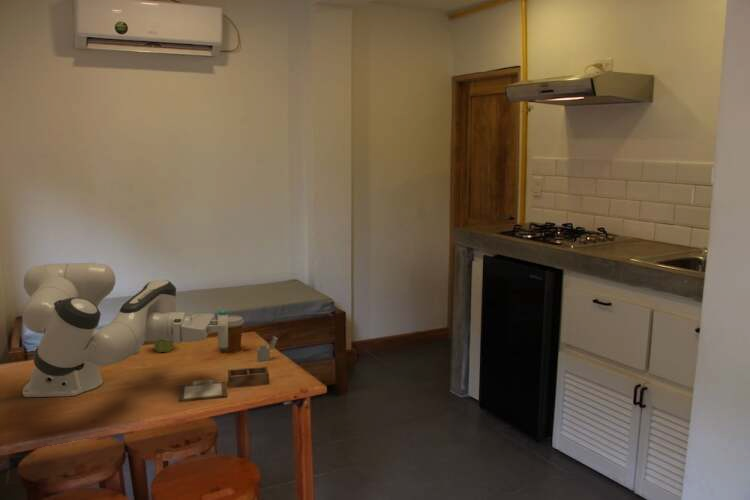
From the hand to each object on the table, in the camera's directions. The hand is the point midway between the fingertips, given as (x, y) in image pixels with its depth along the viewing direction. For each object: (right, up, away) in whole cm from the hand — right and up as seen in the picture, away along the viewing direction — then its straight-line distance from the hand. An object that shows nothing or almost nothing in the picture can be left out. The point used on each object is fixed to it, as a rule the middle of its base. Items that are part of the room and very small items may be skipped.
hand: (225, 326), depth 199 cm
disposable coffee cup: (-6, -13, +37) cm, 40 cm away
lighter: (+9, -15, +26) cm, 32 cm away
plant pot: (-31, -13, +36) cm, 50 cm away
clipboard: (-6, -20, -3) cm, 21 cm away
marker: (-1, -8, +1) cm, 9 cm away
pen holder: (+6, -18, +5) cm, 20 cm away
